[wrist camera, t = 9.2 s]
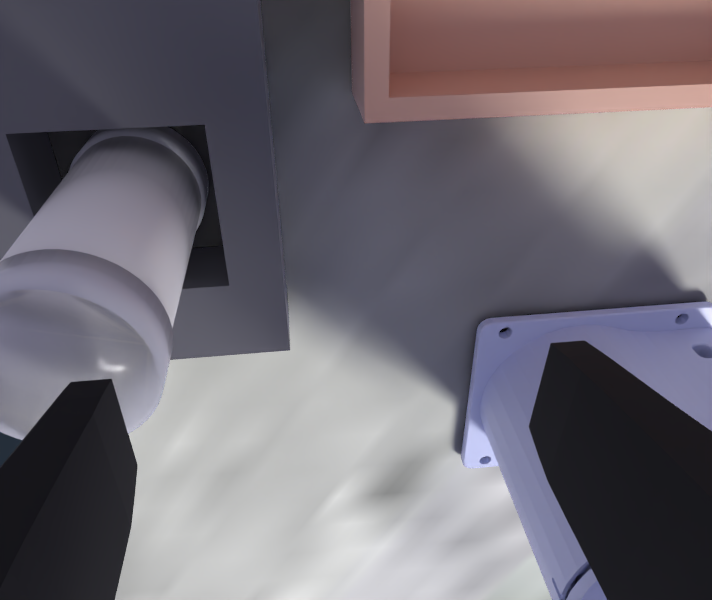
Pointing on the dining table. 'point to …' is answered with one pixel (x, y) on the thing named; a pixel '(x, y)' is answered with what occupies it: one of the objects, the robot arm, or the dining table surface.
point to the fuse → (101, 276)
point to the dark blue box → (7, 446)
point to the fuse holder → (157, 109)
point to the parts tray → (528, 57)
